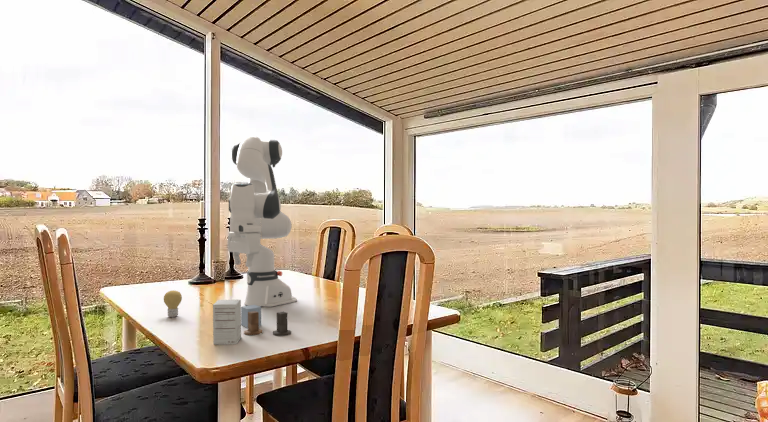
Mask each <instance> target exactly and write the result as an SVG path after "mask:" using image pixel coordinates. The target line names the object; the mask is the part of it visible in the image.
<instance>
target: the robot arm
mask: <svg viewBox="0 0 768 422" xmlns="http://www.w3.org/2000/svg"><path fill="white" fill-rule="evenodd" d="M282 156H283V148H282V146H281V144H280V142H279V141H278V140H275V139H260V138H259V137H257V136H255V135H248V136H246V137H244V138H243V139H242V140H241V141H239V142H236V143H234V144H233V145H232V146H231V148H230V157H231V159H232V162H233V164H234V165H236V168H237V170H238V172H239V173H240V174H241V175H242V176H243V177H246V178H247V179H248V181H243V182H242V181H241V182H235V183H233V184H231V189H230V195H229V196H230V197H229V198H228V212H229V213H230V217H229V233H228V235H227V251H228V252H230V253H232V257H233V260H234V265H235V266H240V265H241V264H242V263H241V261H242V260H241V257H240V255H241V254H244V255H245V256H246V261H245V267H247V269H248V270H247V272H246V284H247V287H246V290H247V291H246V296H245V300H244V304H243V305H244V306H249V305H257V306H260V307H269V308H270V307H271V308H272V307H276V306H281V305H286V304H291V303H296V302H297V301H298V300H297V299H298V298H297V297H295V296H292V295H293V294H292V289H291V287H290V286H289V285H288V284H286V283H285V282H284V281H282V279H279V277H282V275H283V272H282V271H281V270H278V271H277V270H276V269H275V253H274V251H273V250H272V249H270V248H268V247H267V246H265V245H262V243H261V239H263V240H264V239H266V240H267V239H269V240H270V239H272V240H274V239H280V238H285V237H287V236H289V234H290V233H291V230H292V222H291V221H292V220H291V219H290V217H289V216H288V215H287V214H286V213H284V212H282V210H281V209H282V204H281V199H280V196H279V193H278V188H277V183H276V178H275V176H274V175H275V174H274V171H273V169H274V168H276V165H278V164H279V163H280V161H281V159H282Z"/></svg>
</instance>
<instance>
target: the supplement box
mask: <svg viewBox="0 0 768 422" xmlns="http://www.w3.org/2000/svg"><path fill="white" fill-rule="evenodd" d="M241 304H242V300H241V299H217V301H215V302H214V303H213V304H212V335H213V336H212V338H213V340H212V343H213V345H238V342H239V341H240V340H241V338H242V325H241V307H242V305H241Z"/></svg>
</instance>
